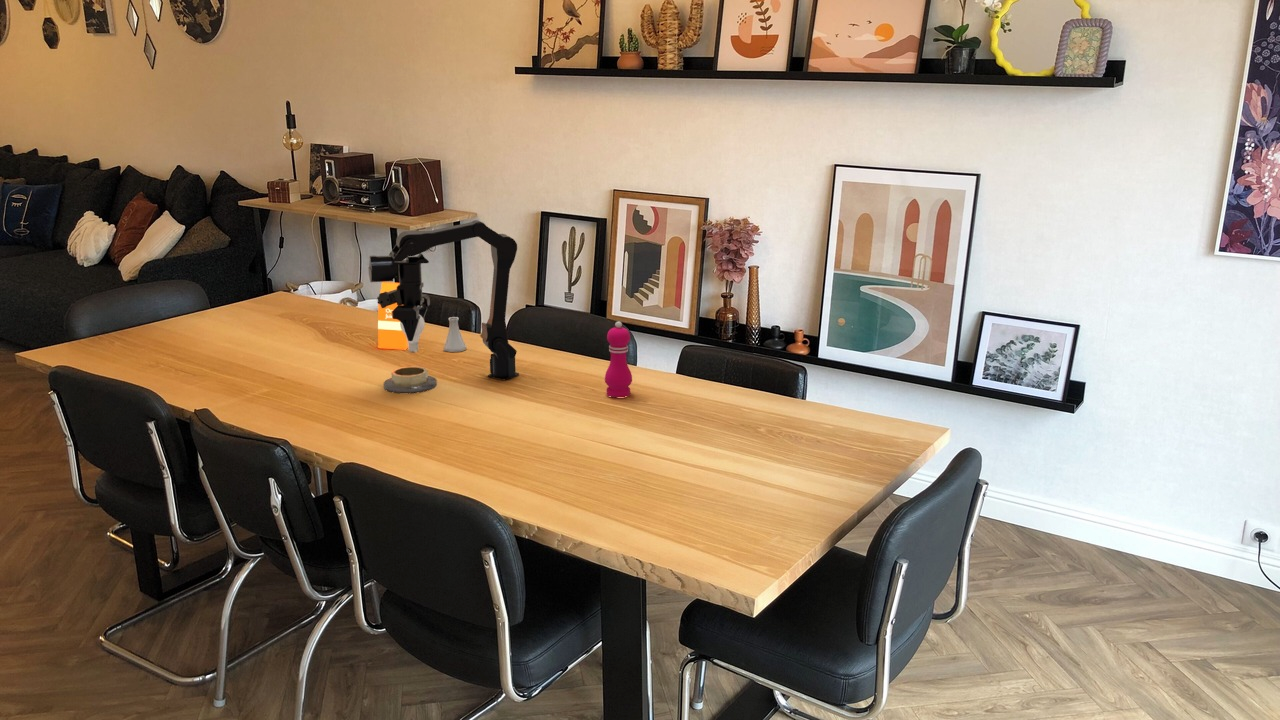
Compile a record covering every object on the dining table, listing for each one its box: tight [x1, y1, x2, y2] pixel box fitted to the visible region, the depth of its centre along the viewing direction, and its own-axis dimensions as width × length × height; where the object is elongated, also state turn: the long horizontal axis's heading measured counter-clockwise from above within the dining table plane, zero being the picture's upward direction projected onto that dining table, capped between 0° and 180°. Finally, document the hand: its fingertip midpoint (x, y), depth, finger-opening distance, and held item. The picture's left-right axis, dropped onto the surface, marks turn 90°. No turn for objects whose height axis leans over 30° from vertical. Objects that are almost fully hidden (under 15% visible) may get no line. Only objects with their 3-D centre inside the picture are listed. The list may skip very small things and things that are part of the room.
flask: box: [443, 316, 467, 353], centre depth 287 cm, size 7×7×10 cm
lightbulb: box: [400, 314, 426, 354], centre depth 249 cm, size 6×6×11 cm
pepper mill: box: [604, 321, 633, 398], centre depth 245 cm, size 7×7×20 cm
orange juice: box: [377, 281, 409, 351], centre depth 289 cm, size 8×9×20 cm
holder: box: [383, 365, 438, 395], centre depth 253 cm, size 14×14×4 cm
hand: (412, 337), depth 250 cm, fingers closed on lightbulb, 6 cm apart
